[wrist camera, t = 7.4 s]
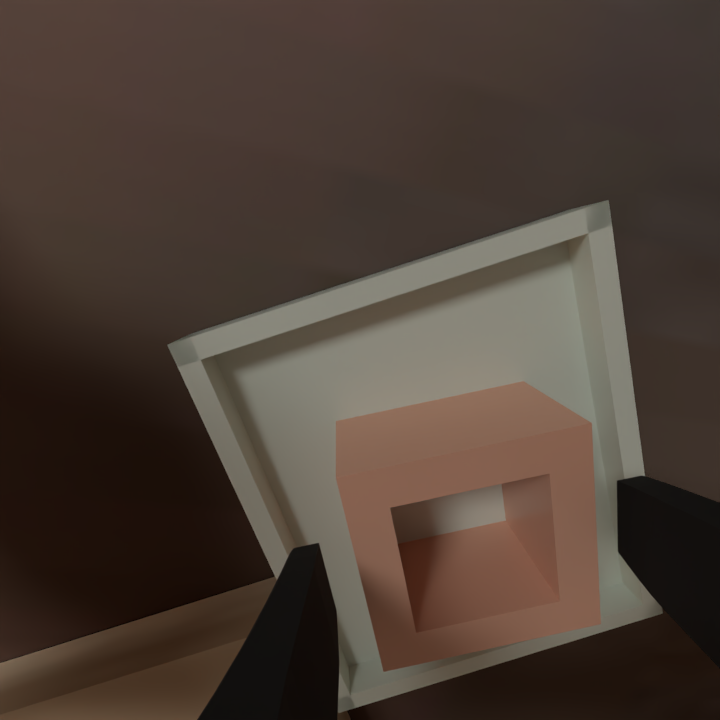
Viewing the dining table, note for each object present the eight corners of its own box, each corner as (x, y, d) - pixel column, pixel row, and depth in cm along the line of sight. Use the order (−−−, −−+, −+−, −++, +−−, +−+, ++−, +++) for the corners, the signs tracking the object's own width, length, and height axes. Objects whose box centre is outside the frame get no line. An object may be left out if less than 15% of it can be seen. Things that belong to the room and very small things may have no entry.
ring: (372, 575, 12) (383, 672, 9) (335, 420, 11) (335, 477, 8) (538, 539, 12) (601, 624, 9) (523, 381, 11) (591, 423, 8)
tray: (190, 333, 11) (167, 344, 9) (570, 209, 10) (609, 200, 9) (338, 666, 14) (338, 712, 12) (628, 576, 14) (662, 613, 12)
